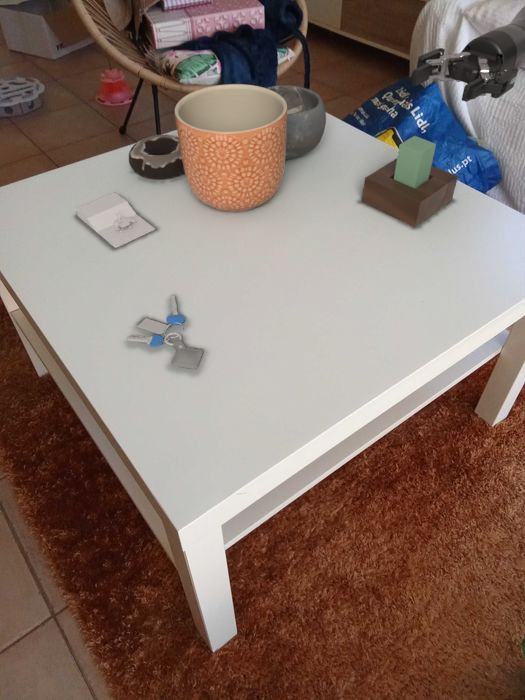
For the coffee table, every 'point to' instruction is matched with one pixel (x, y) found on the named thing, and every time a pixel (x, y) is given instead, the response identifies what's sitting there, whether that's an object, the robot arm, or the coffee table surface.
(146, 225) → the small white envelope
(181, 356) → the key chain
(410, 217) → the mount block
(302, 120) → the bowl
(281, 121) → the planter
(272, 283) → the coffee table surface
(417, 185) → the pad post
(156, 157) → the donut
